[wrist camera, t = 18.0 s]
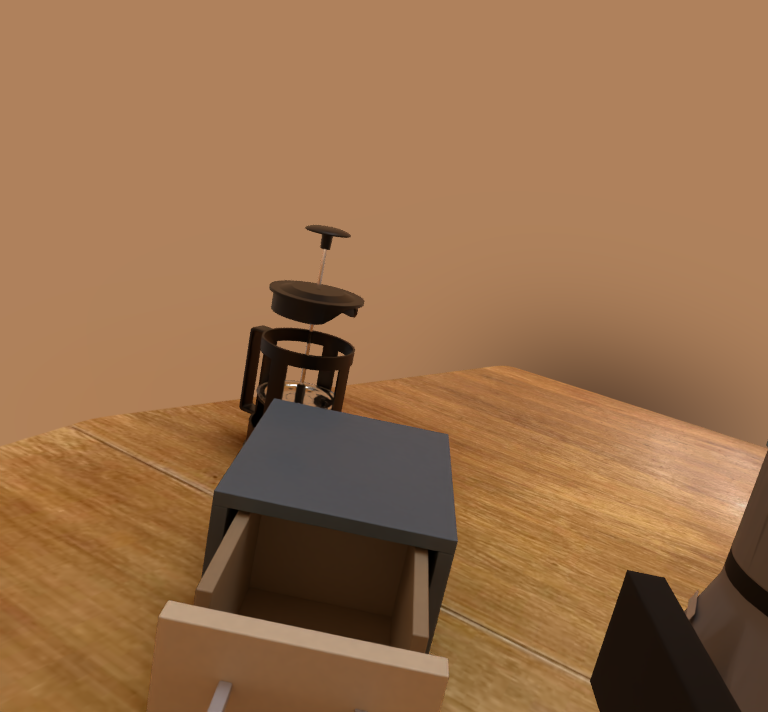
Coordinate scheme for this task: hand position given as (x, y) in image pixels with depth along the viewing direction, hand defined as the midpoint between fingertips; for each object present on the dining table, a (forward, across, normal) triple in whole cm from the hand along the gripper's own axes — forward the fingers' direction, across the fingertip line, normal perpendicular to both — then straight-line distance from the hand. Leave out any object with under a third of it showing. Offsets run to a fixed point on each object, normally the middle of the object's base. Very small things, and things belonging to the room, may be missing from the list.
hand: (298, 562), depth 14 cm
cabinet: (+30, 0, -22) cm, 37 cm away
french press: (+51, -7, -22) cm, 56 cm away
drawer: (+17, 0, -21) cm, 27 cm away
